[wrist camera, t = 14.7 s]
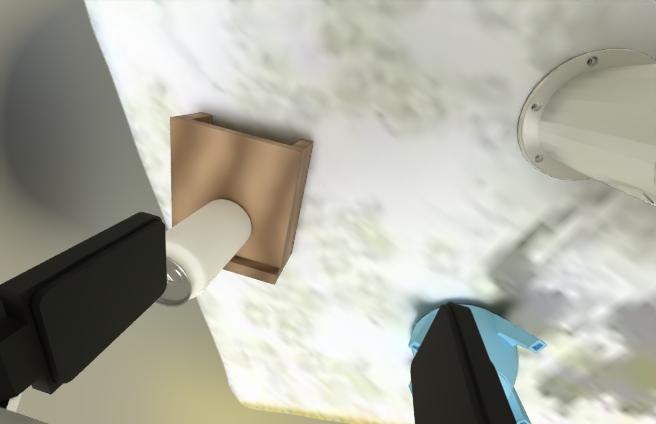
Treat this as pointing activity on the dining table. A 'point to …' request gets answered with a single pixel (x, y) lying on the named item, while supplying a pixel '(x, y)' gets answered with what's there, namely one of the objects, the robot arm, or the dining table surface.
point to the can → (202, 249)
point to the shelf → (241, 187)
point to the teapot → (493, 349)
